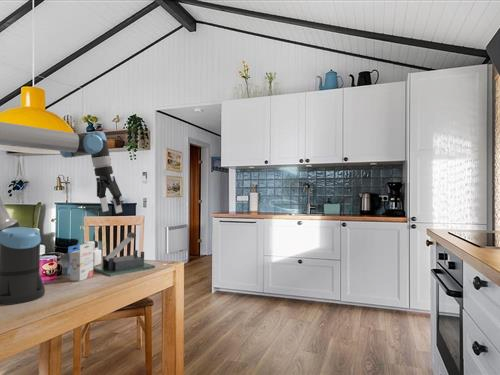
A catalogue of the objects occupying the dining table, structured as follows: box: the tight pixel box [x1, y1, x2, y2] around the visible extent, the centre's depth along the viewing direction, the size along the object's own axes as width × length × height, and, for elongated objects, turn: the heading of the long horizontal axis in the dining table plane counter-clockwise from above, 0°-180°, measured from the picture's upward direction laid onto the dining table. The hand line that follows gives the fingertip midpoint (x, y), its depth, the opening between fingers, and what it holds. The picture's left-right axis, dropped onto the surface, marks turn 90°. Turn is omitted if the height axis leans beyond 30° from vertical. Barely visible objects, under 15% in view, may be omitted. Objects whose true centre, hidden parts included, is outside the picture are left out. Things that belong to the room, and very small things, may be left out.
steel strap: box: [104, 231, 137, 261], centre depth 155 cm, size 17×4×2 cm
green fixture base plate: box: [93, 249, 156, 277], centre depth 156 cm, size 22×18×8 cm
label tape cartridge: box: [60, 243, 82, 275], centre depth 149 cm, size 9×4×12 cm, turn 171°
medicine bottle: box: [84, 240, 102, 267], centre depth 165 cm, size 7×7×12 cm
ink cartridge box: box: [69, 243, 94, 282], centre depth 138 cm, size 9×5×15 cm, turn 168°
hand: (112, 211), depth 151 cm, fingers open, 13 cm apart
